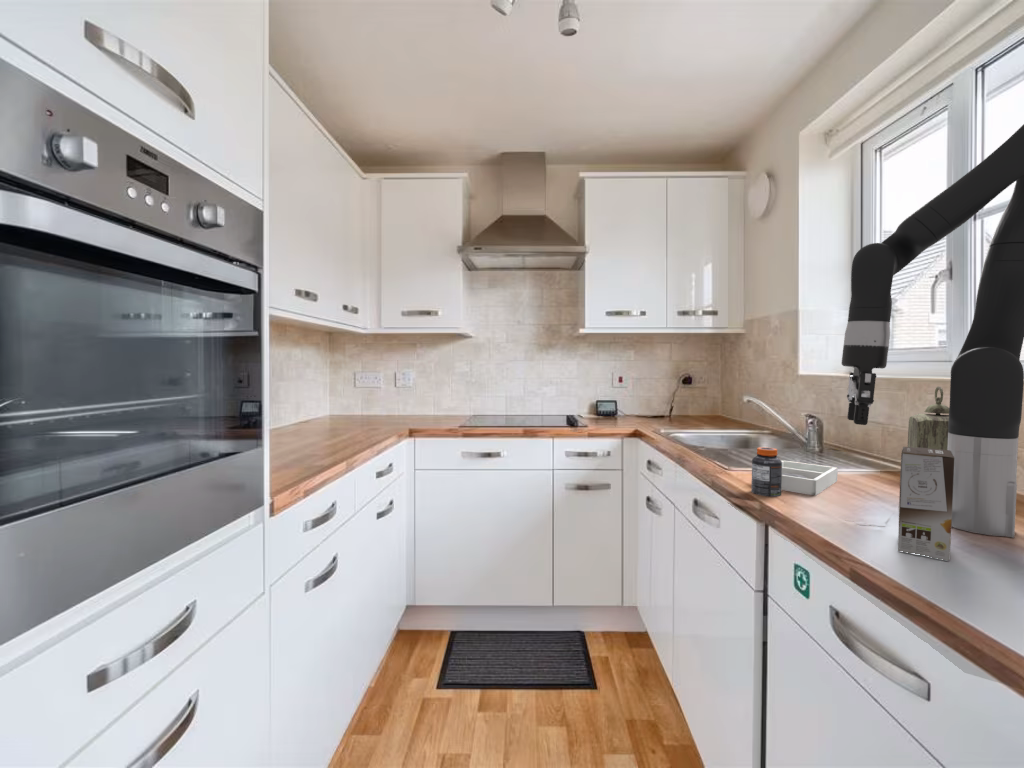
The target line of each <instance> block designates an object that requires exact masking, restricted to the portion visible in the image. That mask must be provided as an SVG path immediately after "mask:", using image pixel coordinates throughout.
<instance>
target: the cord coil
mask: <svg viewBox="0 0 1024 768" xmlns="http://www.w3.org/2000/svg"><path fill="white" fill-rule="evenodd" d="M782 475H787V476H794V477H800V478H806V477H804V476H801V475H796V474H788V473H782Z"/></svg>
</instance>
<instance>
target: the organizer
mask: <svg viewBox="0 0 1024 768" xmlns="http://www.w3.org/2000/svg"><path fill="white" fill-rule="evenodd" d="M781 461H782V473H788V474H796V475H801V476H804V477H806V478H800V477H794V476H787V475H782V482H781V483H782V485H781V491H785V492H792V493H797V494H803V495H809V496H810V495H811V496H818V495H819V494H820V493H822V492H823V491H825V490H826V489H828V488H829V487H830V486H832V485H833V484H835V483H836V482H838V470H839V468H838V467H837V466H829V465H823V464H822V465H821V464H814V463H805V462H797V461H790V460H781Z"/></svg>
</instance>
